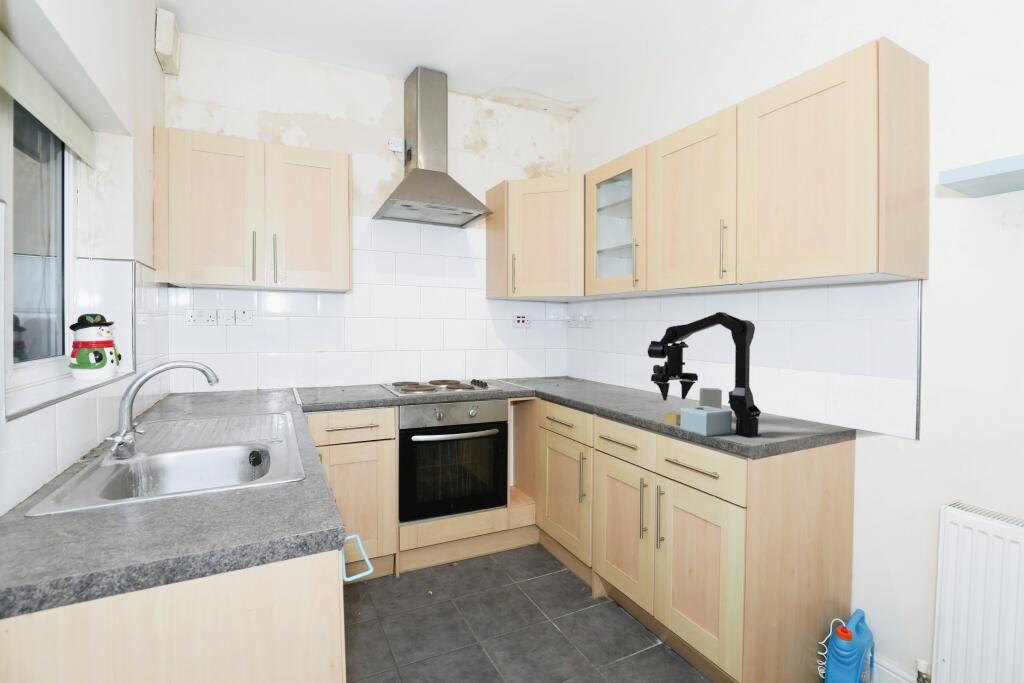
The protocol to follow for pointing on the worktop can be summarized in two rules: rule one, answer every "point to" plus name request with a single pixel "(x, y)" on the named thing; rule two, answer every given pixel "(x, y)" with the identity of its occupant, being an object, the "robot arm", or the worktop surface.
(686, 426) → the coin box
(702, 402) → the supplement box
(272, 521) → the worktop surface
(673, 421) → the tall tan wooden block
